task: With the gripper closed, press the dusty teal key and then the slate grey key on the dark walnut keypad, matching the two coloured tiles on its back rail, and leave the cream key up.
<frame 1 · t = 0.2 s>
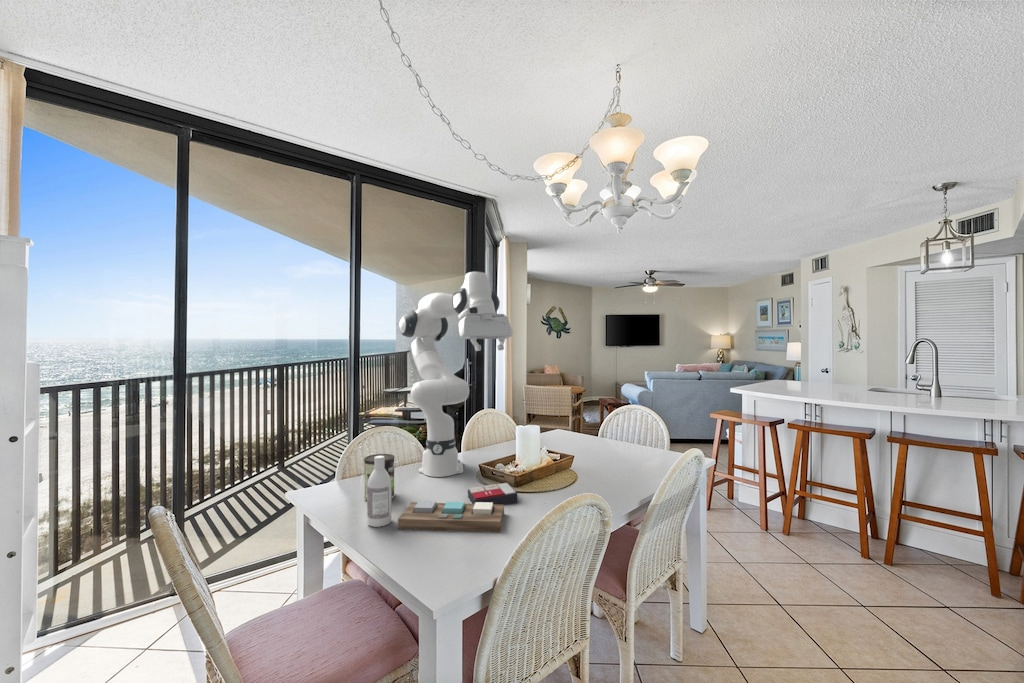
hand: (490, 350, 151), 52 cm above the table, tool tilted 20°, fingers open, 8 cm apart
coffee can: (379, 497, 152), on the table
grey key: (425, 507, 134), point 3 cm above the table, slide at 0.0 cm
teal key: (454, 508, 133), point 3 cm above the table, slide at 0.0 cm
keypad: (453, 521, 132), on the table
cream key: (483, 508, 133), point 3 cm above the table, slide at 0.0 cm
bath foam: (379, 523, 131), on the table
red and black box: (492, 501, 150), on the table
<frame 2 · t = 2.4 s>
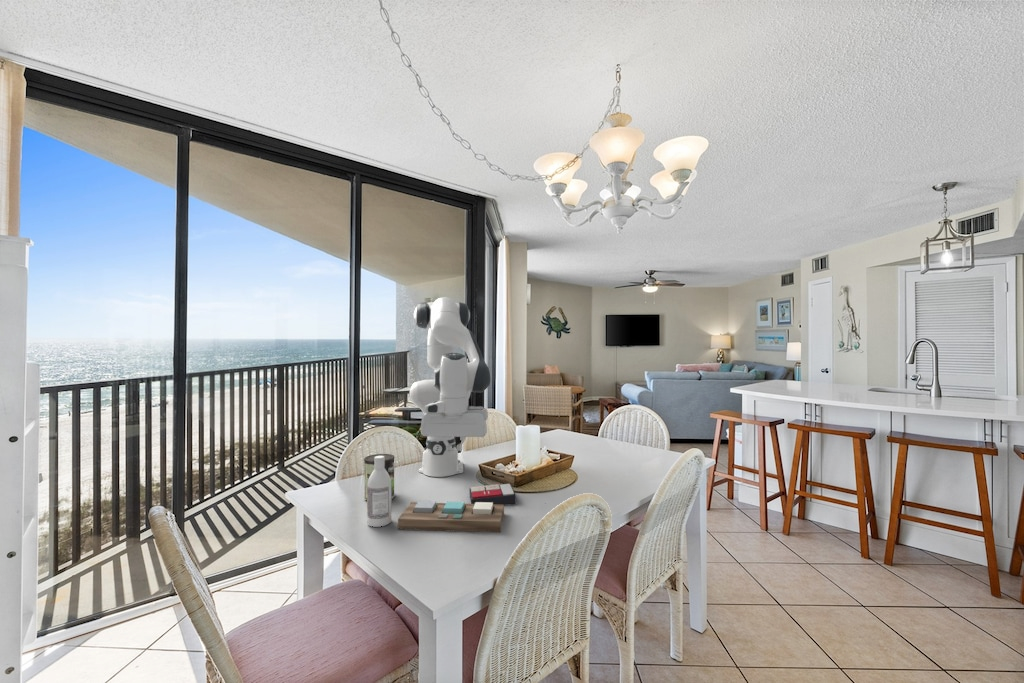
hand: (454, 450, 133), 21 cm above the table, tool pointing down, fingers closed
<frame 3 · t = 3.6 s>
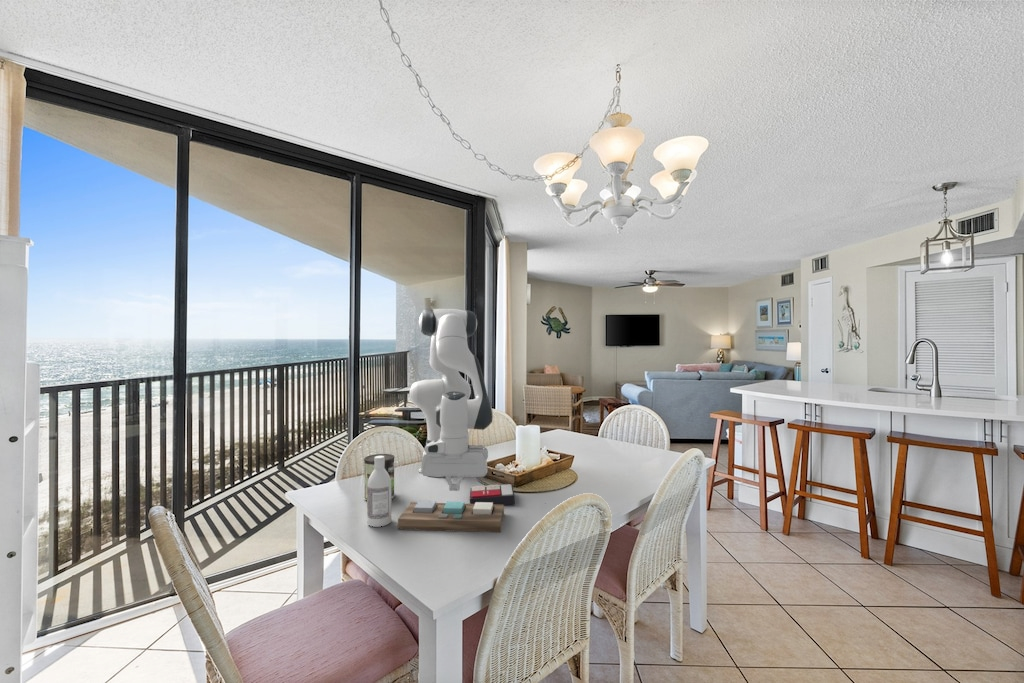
hand: (454, 490, 133), 9 cm above the table, tool pointing down, fingers closed
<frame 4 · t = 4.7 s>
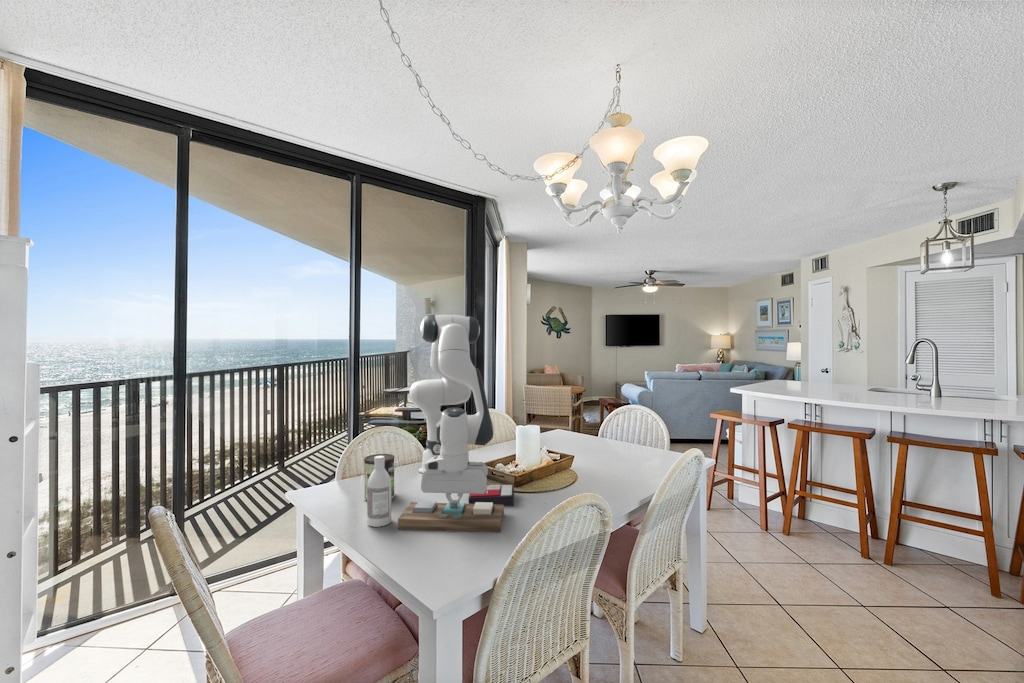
hand: (454, 506, 133), 4 cm above the table, tool pointing down, fingers closed, pressing on teal key
teal key: (454, 509, 133), point 3 cm above the table, slide at 0.5 cm, touching gripper
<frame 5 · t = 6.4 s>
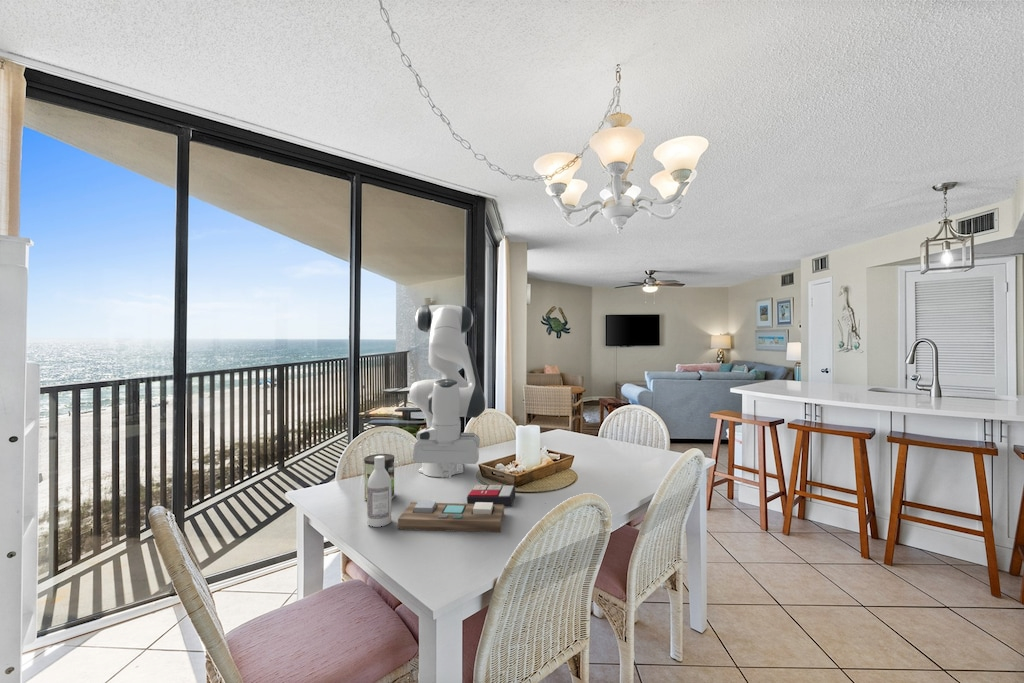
hand: (446, 477, 134), 13 cm above the table, tool pointing down, fingers closed
teal key: (454, 512, 133), point 2 cm above the table, slide at 1.2 cm
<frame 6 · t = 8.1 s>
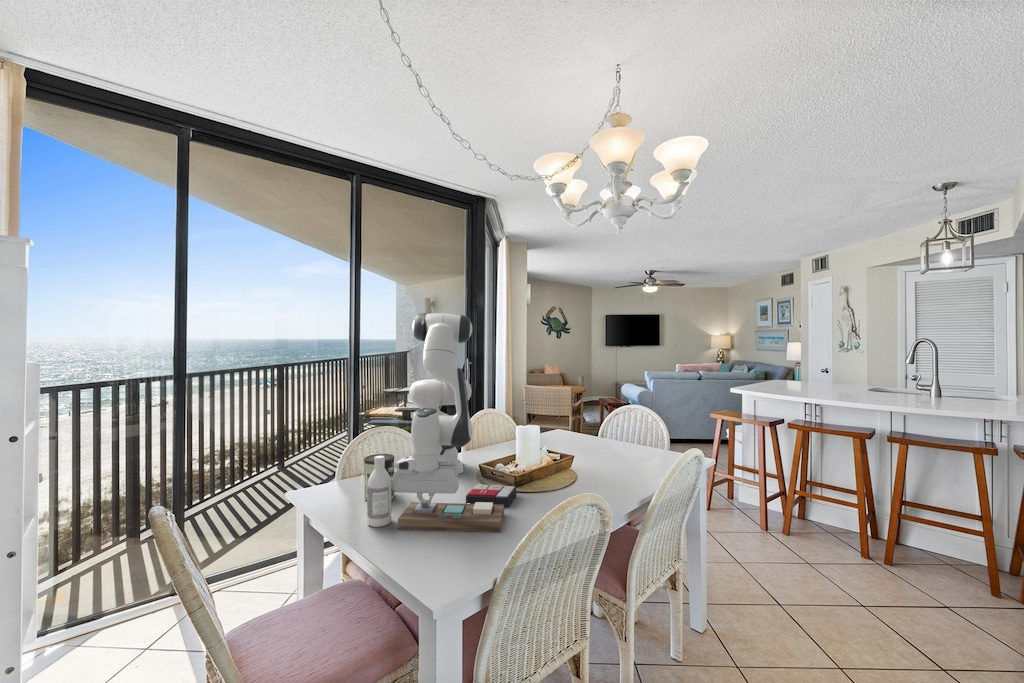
hand: (425, 506, 134), 4 cm above the table, tool pointing down, fingers closed, pressing on grey key
grey key: (425, 509, 134), point 3 cm above the table, slide at 0.7 cm, touching gripper
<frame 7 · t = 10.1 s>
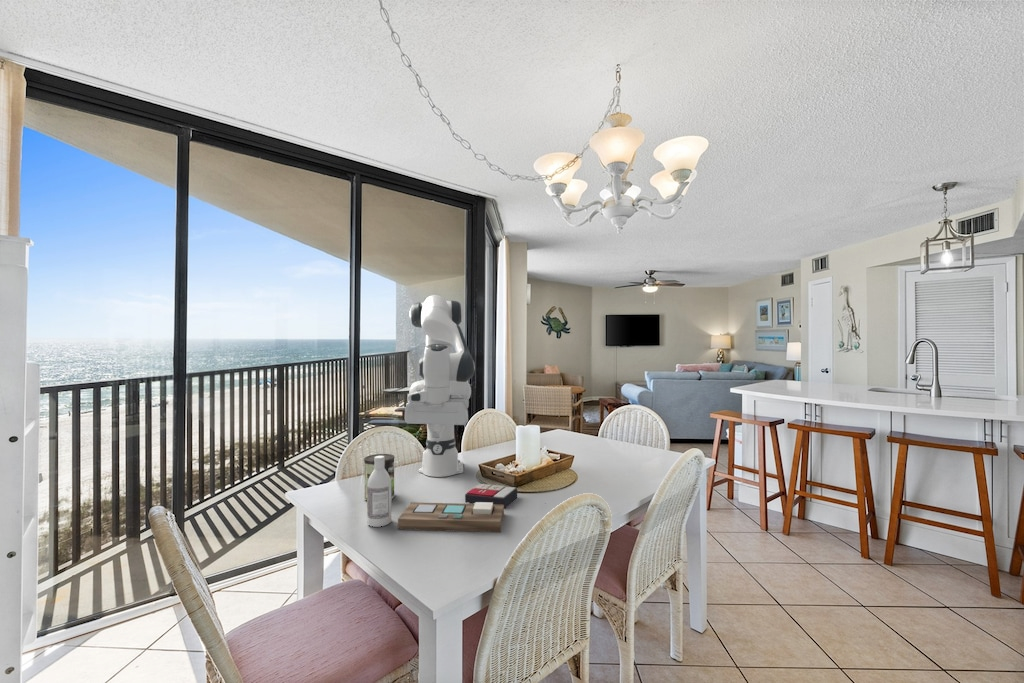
hand: (436, 437, 139), 24 cm above the table, tool pointing down, fingers closed
grey key: (425, 511, 134), point 2 cm above the table, slide at 1.2 cm
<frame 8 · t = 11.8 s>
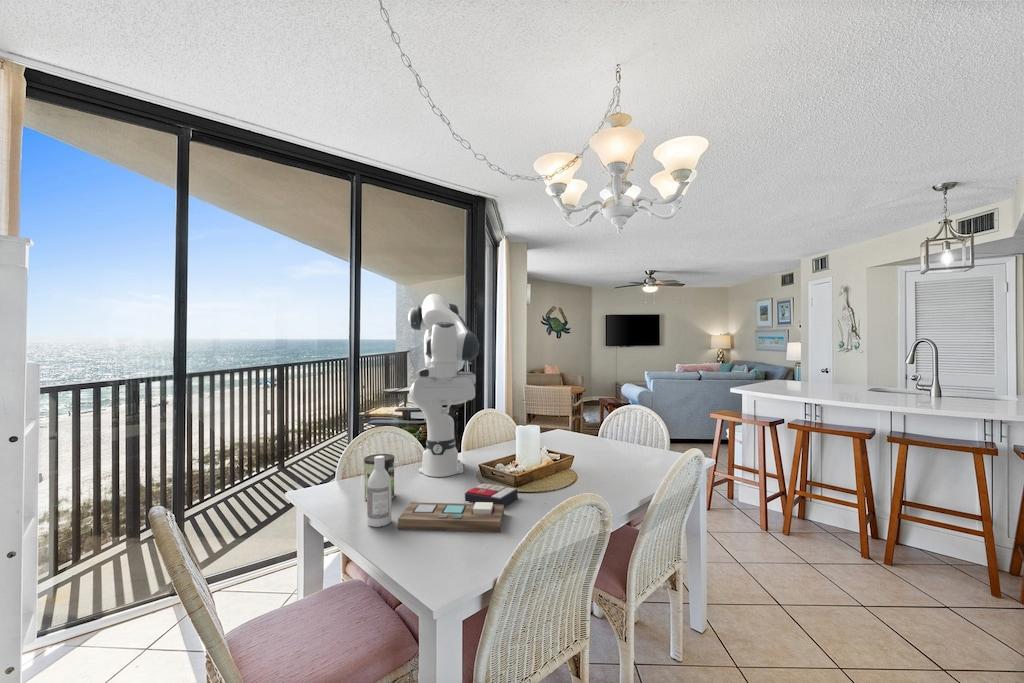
hand: (444, 413, 143), 31 cm above the table, tool pointing down, fingers closed
at the end: teal key slide at 1.2 cm; grey key slide at 1.2 cm; cream key slide at 0.0 cm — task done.
